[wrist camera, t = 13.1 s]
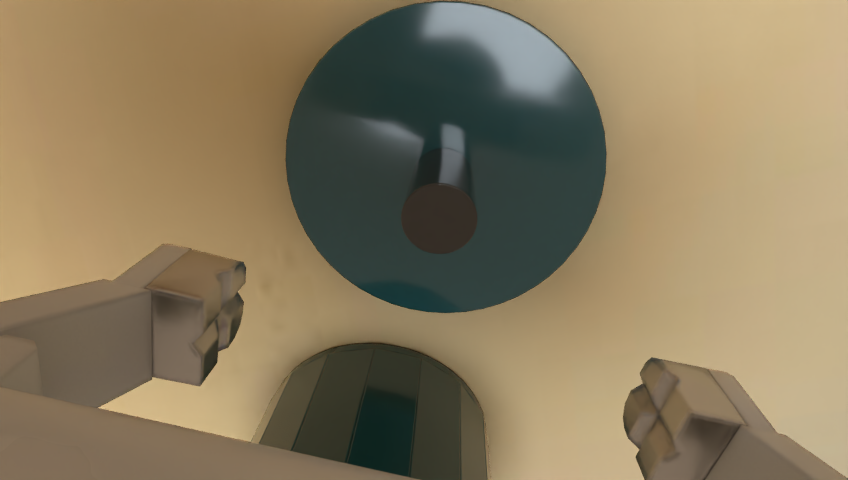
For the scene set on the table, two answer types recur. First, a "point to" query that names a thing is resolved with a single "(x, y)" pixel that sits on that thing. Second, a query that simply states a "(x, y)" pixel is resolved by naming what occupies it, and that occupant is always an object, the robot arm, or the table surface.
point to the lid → (446, 156)
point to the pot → (380, 414)
